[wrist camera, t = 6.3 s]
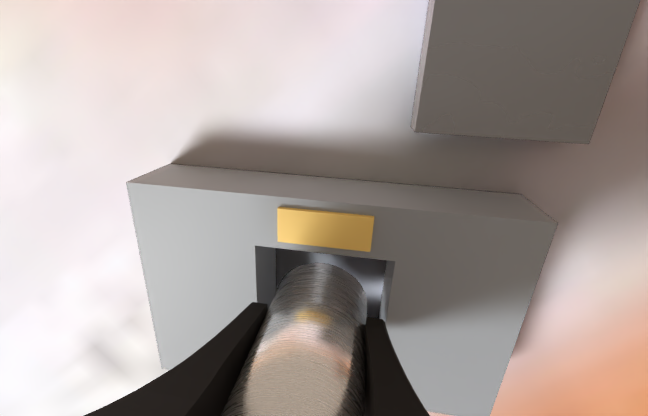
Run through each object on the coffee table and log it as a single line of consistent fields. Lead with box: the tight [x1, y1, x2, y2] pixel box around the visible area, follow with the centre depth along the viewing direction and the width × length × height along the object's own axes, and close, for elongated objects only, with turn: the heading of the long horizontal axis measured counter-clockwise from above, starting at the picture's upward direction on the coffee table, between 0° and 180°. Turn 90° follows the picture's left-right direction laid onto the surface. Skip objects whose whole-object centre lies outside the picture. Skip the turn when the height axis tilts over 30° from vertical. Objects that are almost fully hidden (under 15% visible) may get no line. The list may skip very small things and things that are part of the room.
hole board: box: [126, 164, 558, 416], centre depth 15 cm, size 16×10×3 cm, turn 87°
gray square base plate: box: [410, 0, 640, 144], centre depth 11 cm, size 6×6×2 cm
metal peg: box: [221, 263, 367, 416], centre depth 11 cm, size 4×4×7 cm
